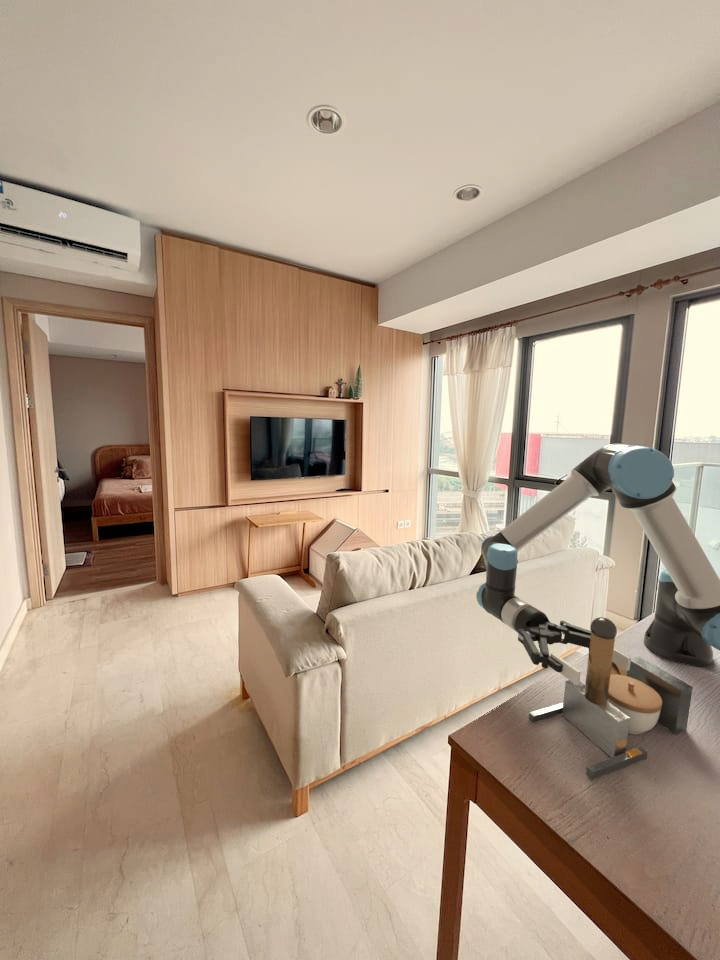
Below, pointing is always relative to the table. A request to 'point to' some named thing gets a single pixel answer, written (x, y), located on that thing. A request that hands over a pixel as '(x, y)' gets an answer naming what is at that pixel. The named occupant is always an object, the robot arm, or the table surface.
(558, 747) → the table surface
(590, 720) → the gold upright rod
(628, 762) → the bench
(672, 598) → the robot arm
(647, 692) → the lidded jar
